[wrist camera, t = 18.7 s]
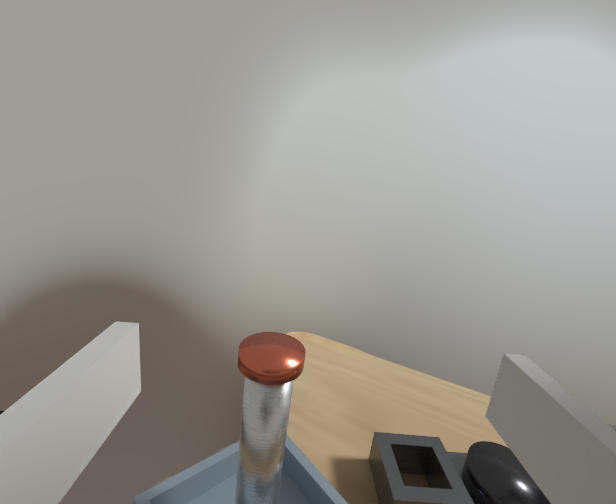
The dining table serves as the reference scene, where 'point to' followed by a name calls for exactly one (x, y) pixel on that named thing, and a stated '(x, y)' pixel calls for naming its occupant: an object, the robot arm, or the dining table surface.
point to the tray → (222, 481)
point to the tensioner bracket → (449, 473)
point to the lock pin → (265, 413)
